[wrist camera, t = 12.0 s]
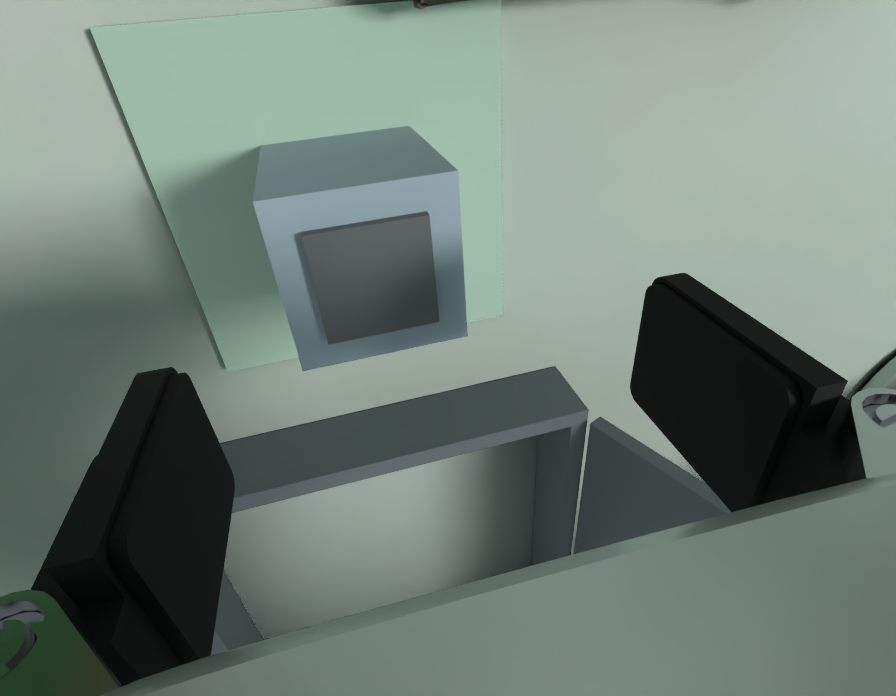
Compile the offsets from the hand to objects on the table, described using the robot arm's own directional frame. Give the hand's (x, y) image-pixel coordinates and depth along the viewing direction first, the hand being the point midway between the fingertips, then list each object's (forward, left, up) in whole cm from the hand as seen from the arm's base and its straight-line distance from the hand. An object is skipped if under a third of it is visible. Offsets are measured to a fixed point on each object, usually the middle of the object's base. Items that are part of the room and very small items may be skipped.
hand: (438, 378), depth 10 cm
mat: (+1, 0, -11) cm, 11 cm away
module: (+1, 0, -10) cm, 10 cm away
